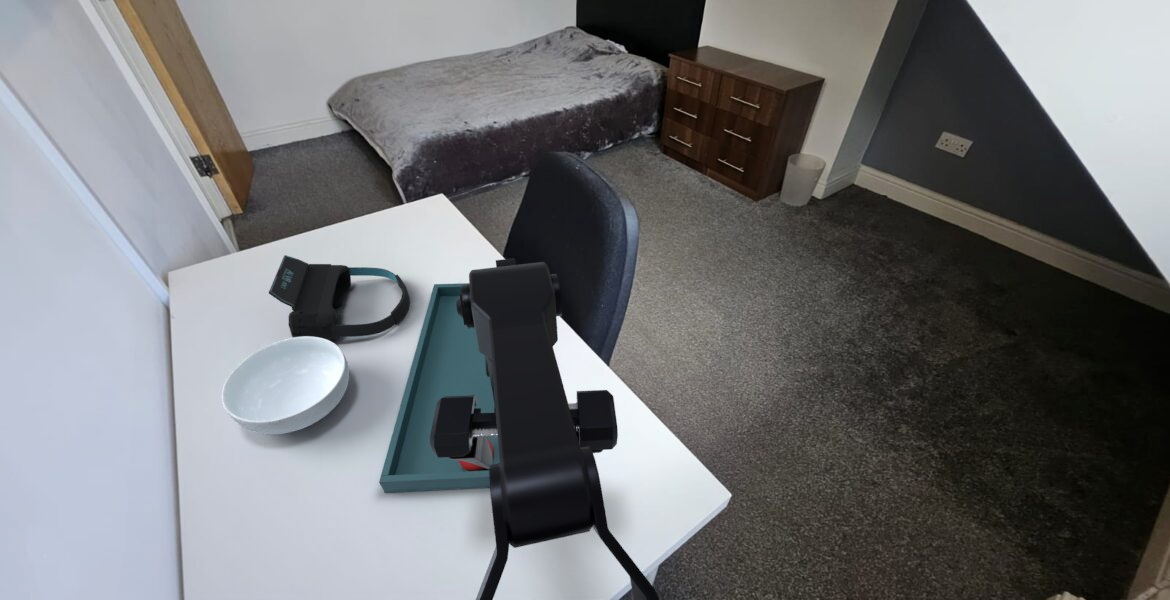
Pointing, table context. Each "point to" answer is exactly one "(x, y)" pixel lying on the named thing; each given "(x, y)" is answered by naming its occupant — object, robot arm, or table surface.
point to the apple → (474, 467)
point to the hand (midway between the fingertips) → (530, 463)
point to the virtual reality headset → (327, 298)
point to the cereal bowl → (286, 385)
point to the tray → (437, 371)
